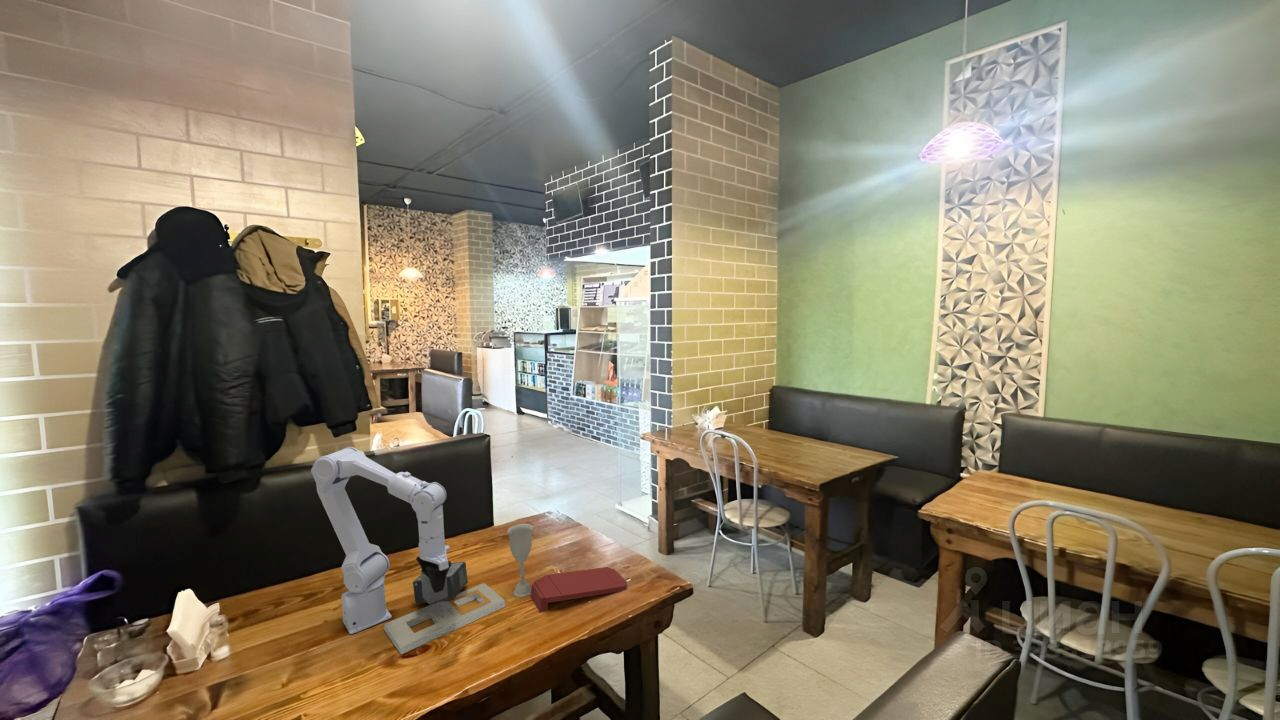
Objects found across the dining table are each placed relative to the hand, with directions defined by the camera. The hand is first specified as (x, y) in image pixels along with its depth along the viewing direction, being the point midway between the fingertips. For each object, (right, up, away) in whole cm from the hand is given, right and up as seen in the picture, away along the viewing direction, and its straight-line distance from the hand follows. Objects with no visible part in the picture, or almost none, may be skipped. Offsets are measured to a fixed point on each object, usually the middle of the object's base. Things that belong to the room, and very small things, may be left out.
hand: (435, 586), depth 122 cm
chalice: (+19, -8, +14) cm, 25 cm away
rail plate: (+2, -9, +3) cm, 10 cm away
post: (0, -3, 0) cm, 3 cm away
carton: (+34, -8, +14) cm, 38 cm away
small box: (-3, -5, +18) cm, 19 cm away
